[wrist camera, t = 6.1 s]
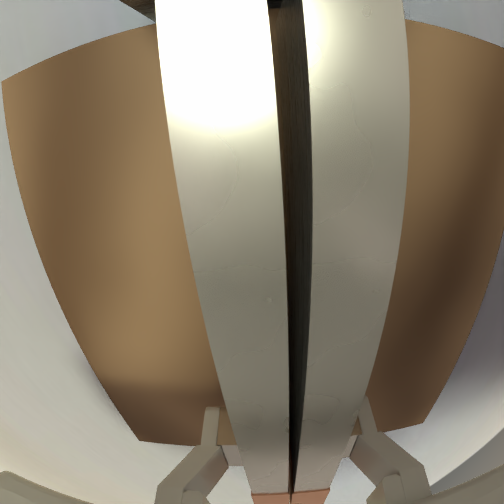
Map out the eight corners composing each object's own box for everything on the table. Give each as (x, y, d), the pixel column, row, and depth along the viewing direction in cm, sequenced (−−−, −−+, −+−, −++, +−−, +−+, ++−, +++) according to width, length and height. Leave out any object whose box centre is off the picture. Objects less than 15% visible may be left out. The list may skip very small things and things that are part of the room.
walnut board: (490, 53, 7) (516, 53, 5) (415, 403, 15) (422, 422, 14) (28, 79, 7) (1, 81, 6) (144, 420, 16) (139, 440, 15)
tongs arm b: (203, 31, 6) (148, -30, 2) (260, 25, 6) (265, -48, 2) (257, 438, 13) (257, 513, 10) (284, 437, 13) (288, 511, 10)
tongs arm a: (273, 24, 6) (291, -48, 2) (328, 25, 6) (402, -33, 2) (285, 437, 13) (290, 511, 10) (312, 434, 13) (320, 508, 10)
